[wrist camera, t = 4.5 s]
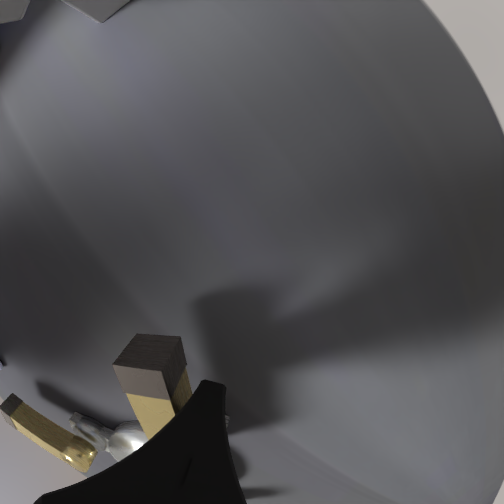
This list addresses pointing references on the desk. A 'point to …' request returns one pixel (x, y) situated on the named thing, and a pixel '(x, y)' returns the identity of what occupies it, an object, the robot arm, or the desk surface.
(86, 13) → the lighter
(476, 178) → the desk surface
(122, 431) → the base
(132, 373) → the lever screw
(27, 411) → the lever
